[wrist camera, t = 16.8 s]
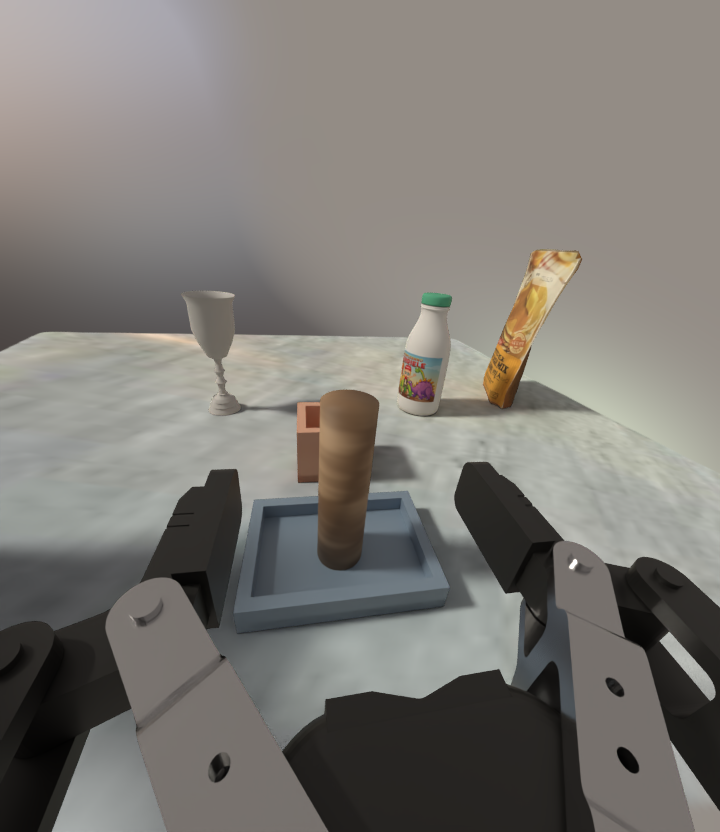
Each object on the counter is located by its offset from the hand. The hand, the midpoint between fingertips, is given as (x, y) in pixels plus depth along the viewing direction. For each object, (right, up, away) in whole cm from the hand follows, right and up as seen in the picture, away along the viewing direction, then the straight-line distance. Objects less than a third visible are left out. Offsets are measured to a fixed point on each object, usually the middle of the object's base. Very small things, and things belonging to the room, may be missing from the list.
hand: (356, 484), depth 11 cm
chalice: (-23, +3, +41) cm, 47 cm away
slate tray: (-2, -11, +18) cm, 21 cm away
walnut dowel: (-2, -10, +17) cm, 20 cm away
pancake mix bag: (+31, +7, +56) cm, 64 cm away
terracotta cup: (-4, -4, +30) cm, 31 cm away
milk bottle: (+11, +4, +47) cm, 49 cm away
